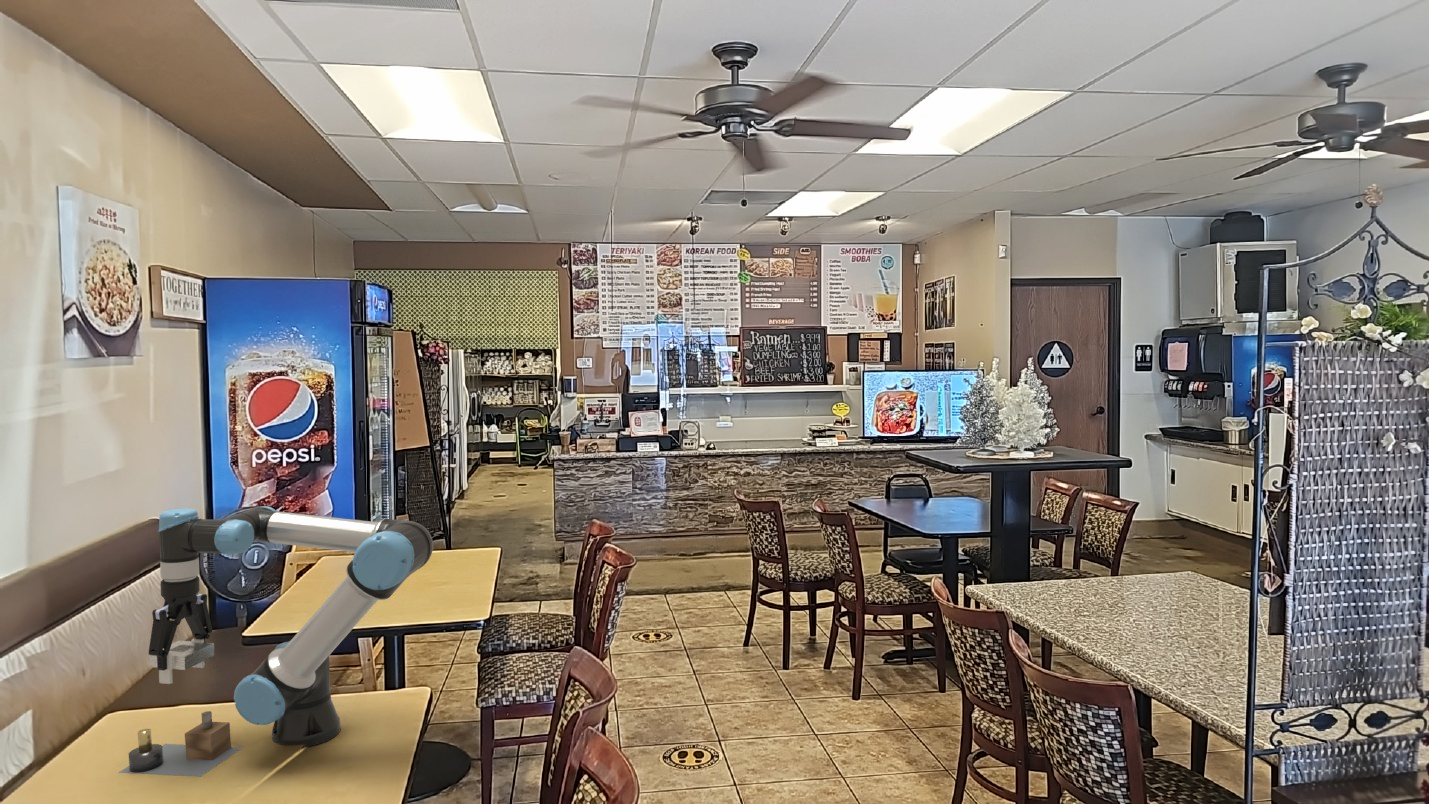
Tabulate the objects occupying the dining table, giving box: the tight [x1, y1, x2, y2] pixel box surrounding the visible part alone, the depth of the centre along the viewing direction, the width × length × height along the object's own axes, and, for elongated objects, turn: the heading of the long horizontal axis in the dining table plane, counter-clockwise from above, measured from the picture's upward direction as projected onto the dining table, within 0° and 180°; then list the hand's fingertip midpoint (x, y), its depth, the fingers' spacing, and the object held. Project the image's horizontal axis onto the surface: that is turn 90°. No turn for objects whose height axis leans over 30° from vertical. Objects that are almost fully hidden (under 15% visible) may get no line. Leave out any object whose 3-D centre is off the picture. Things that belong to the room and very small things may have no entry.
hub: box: [128, 728, 163, 774], centre depth 199 cm, size 6×6×8 cm
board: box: [118, 743, 243, 778], centre depth 202 cm, size 20×14×1 cm
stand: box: [184, 710, 232, 760], centre depth 204 cm, size 6×6×10 cm
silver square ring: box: [148, 640, 215, 671], centre depth 202 cm, size 9×9×3 cm
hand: (182, 674), depth 202 cm, fingers closed on silver square ring, 9 cm apart
